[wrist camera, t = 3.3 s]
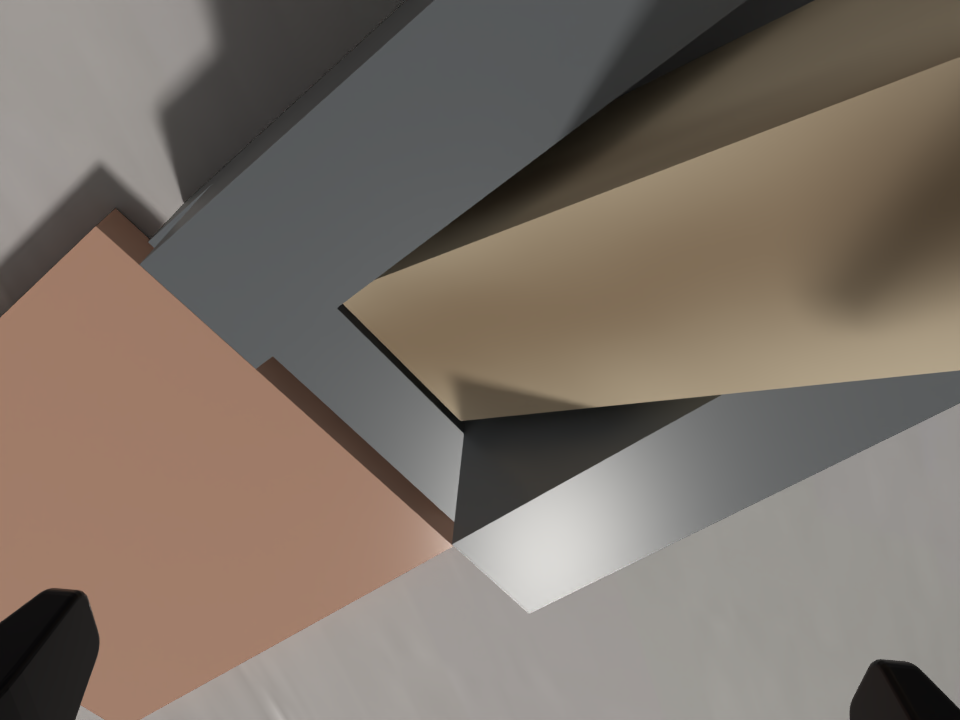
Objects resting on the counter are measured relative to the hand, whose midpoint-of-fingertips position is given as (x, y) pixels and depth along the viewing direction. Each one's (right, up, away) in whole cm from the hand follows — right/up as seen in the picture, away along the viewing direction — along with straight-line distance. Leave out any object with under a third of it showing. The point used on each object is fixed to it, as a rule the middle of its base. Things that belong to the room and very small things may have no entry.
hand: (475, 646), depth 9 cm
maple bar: (+3, +6, +5) cm, 9 cm away
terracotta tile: (-10, -1, +14) cm, 18 cm away
